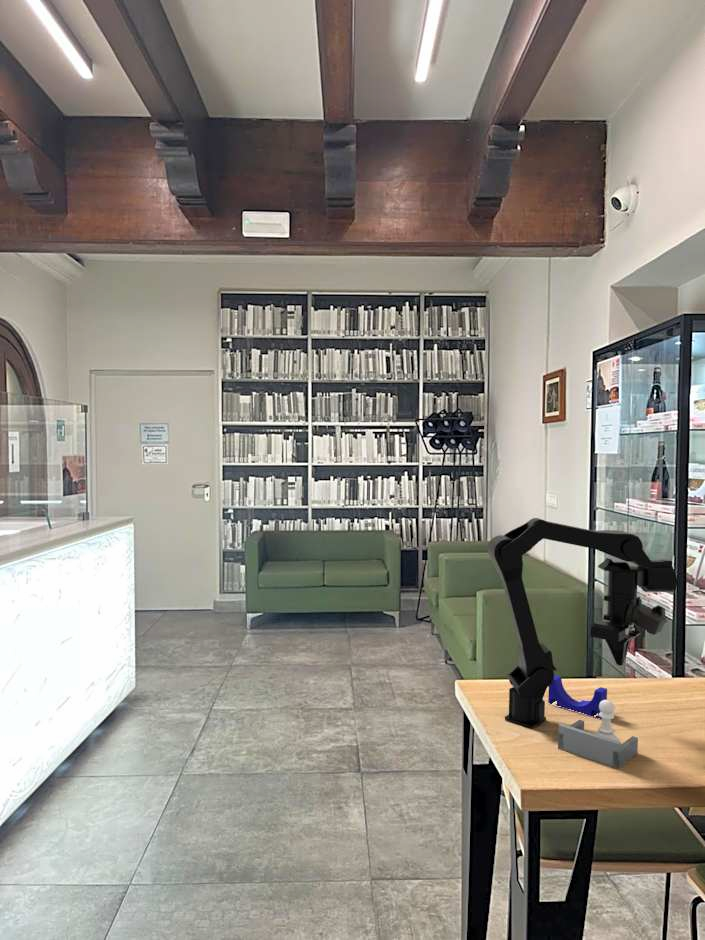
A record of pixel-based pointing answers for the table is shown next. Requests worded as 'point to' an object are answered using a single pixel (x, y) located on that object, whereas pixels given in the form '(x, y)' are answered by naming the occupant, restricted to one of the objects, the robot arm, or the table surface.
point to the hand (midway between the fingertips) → (619, 664)
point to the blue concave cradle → (567, 702)
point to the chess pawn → (606, 720)
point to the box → (595, 745)
